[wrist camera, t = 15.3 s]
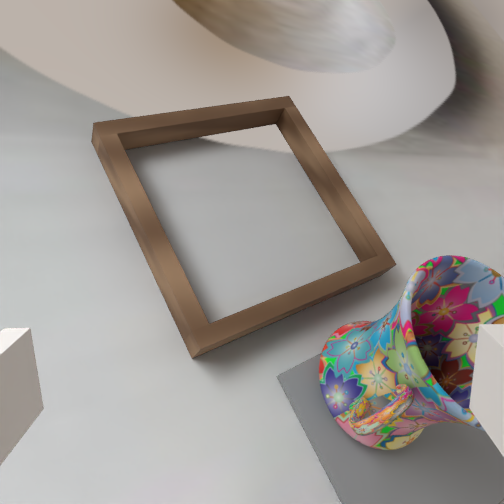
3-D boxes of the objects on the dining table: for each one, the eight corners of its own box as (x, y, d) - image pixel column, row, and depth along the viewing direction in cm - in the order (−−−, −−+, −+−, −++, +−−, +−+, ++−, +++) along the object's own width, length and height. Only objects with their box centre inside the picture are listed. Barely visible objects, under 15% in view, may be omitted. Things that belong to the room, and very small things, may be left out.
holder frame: (91, 141, 34) (93, 122, 33) (279, 111, 43) (289, 95, 41) (192, 358, 29) (200, 349, 28) (381, 275, 38) (396, 264, 36)
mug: (368, 299, 36) (470, 230, 27) (447, 406, 34) (584, 368, 25) (249, 383, 29) (332, 326, 21) (337, 521, 27) (471, 522, 19)
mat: (276, 376, 31) (279, 374, 30) (414, 305, 38) (418, 303, 37) (392, 602, 27) (397, 603, 26) (522, 475, 34) (528, 475, 33)
